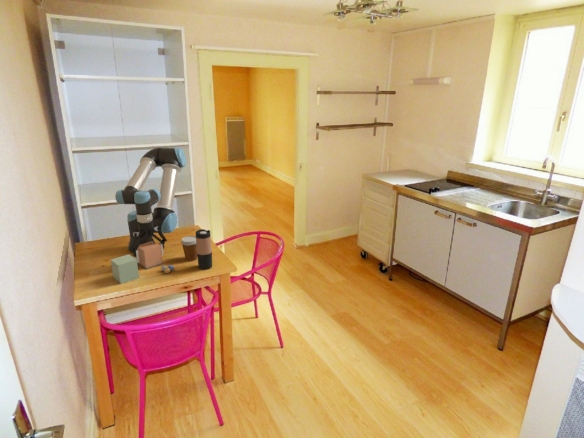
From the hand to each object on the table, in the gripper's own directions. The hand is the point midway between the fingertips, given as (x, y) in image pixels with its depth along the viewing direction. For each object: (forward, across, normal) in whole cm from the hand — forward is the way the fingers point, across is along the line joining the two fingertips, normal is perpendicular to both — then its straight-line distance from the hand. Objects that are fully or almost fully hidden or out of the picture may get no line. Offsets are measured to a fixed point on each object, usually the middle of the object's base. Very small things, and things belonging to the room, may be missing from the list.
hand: (149, 258), depth 200 cm
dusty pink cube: (+3, 0, 0) cm, 3 cm away
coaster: (+3, 0, 0) cm, 3 cm away
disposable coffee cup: (+3, +19, -10) cm, 22 cm away
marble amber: (+3, +1, -17) cm, 17 cm away
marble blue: (+3, +4, -15) cm, 16 cm away
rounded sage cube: (+3, -16, -7) cm, 18 cm away
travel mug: (+3, +19, -24) cm, 31 cm away
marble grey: (+3, +1, -13) cm, 14 cm away
